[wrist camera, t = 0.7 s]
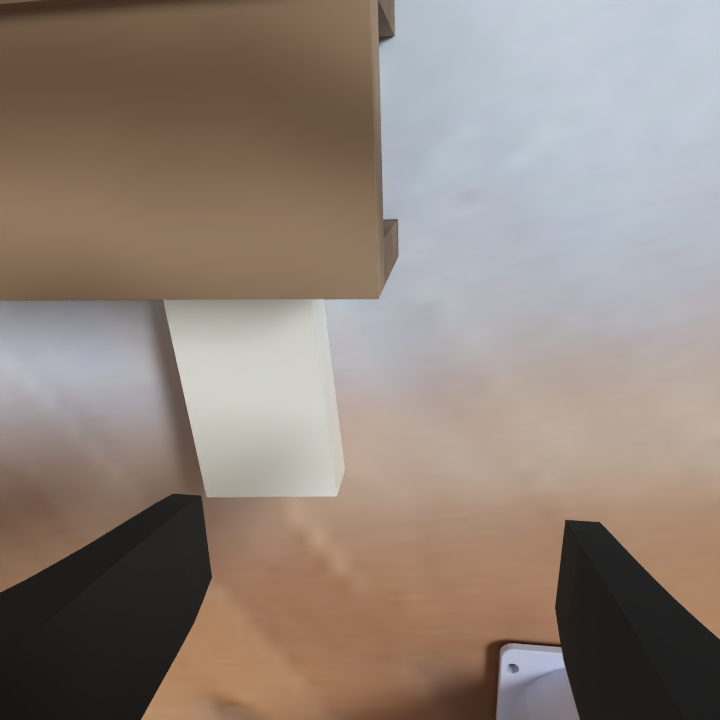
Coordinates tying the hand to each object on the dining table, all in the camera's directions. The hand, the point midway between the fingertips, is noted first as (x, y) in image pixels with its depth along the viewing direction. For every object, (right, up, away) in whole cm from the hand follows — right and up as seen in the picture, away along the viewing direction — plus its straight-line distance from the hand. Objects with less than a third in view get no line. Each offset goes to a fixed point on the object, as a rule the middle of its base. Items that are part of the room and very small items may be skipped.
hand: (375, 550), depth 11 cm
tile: (-4, +4, +10) cm, 12 cm away
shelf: (-4, +11, +7) cm, 14 cm away
